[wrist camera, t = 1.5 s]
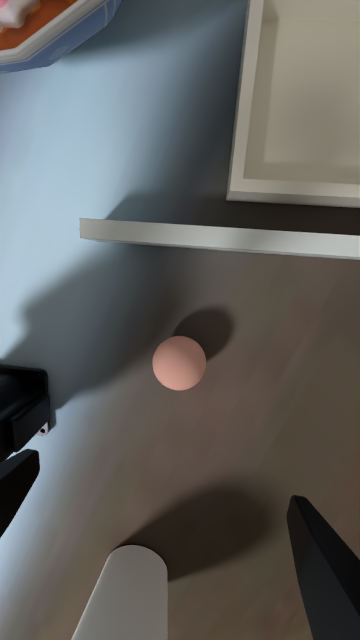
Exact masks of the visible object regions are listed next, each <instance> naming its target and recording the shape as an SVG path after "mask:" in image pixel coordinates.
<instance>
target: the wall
mask: <svg viewBox="0 0 360 640" xmlns="http://www.w3.org/2000/svg"><path fill="white" fill-rule="evenodd" d="M80 238H83V239H88V240H93V241H98V242H112V243H126V244H140V245H155V246H169V247H183V248H198V249H212V250H226V251H241V252H255V253H269V254H284V255H298V256H312V257H327V258H341V259H355V260H360V236H354V235H339V234H323V233H307V232H291V231H275V230H260V229H244V228H228V227H212V226H196V225H181V224H165V223H149V222H133V221H117V220H102V219H86V218H80Z"/></svg>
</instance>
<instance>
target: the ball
mask: <svg viewBox="0 0 360 640" xmlns="http://www.w3.org/2000/svg"><path fill="white" fill-rule="evenodd" d="M205 369H206V357H205V354H204V351H203V349H202V348H201V346H200V345H199V344H198V343H197V342H196V341H194V340H193V339H191V338H188V337H185V336H174V337H171V338H168V339H166V340H165V341H163V342H162V343H161V344H160V345H159V346H158V348H157V349H156V351H155V353H154V357H153V370H154V373H155V375H156V377H157V379H158V380H159V381H160V382H161V383H162V384H163V385H164V386H166V387H168V388H170V389H173V390H186V389H189V388H191V387H193V386H195V385H196V384H197V383H198V382H199V381H200V380H201V378H202V377H203V375H204V373H205Z"/></svg>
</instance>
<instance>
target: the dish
mask: <svg viewBox="0 0 360 640" xmlns="http://www.w3.org/2000/svg"><path fill="white" fill-rule="evenodd" d="M226 200H227V201H245V202H263V203H281V204H299V205H317V206H335V207H353V208H360V0H248V5H247V11H246V17H245V27H244V36H243V45H242V55H241V64H240V73H239V83H238V92H237V102H236V111H235V120H234V130H233V139H232V148H231V158H230V167H229V176H228V186H227V195H226Z"/></svg>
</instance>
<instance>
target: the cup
mask: <svg viewBox="0 0 360 640" xmlns="http://www.w3.org/2000/svg"><path fill="white" fill-rule="evenodd" d="M72 640H167V567H166V564H165V563H164V561H163V560H162V558H161V557H160V556H159V555H158V554H156V553H155V552H154V551H152V550H150V549H148V548H146V547H142V546H138V545H126V546H122V547H119V548H117V549H115V550H114V551H113V552H112V553H111V554H110V555H109V557H108V559H107V561H106V563H105V566H104V568H103V570H102V572H101V575H100V577H99V579H98V581H97V584H96V586H95V588H94V590H93V593H92V595H91V597H90V599H89V601H88V604H87V606H86V608H85V610H84V613H83V615H82V617H81V619H80V622H79V624H78V626H77V628H76V631H75V633H74V635H73V637H72Z"/></svg>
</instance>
